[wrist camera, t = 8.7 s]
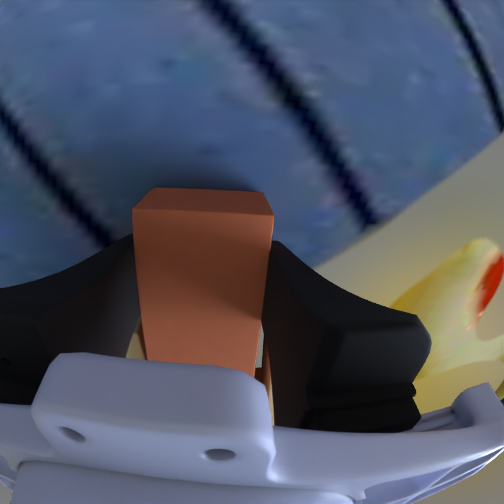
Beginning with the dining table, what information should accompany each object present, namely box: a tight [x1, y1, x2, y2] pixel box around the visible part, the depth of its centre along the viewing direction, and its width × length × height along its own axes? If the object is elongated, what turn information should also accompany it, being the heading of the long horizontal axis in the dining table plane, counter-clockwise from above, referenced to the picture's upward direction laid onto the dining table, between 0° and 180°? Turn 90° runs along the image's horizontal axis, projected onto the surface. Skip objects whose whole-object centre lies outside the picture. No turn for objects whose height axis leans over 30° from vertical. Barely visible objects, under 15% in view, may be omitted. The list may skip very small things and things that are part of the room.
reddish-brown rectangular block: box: [132, 187, 274, 378], centre depth 13 cm, size 10×4×3 cm, turn 174°
